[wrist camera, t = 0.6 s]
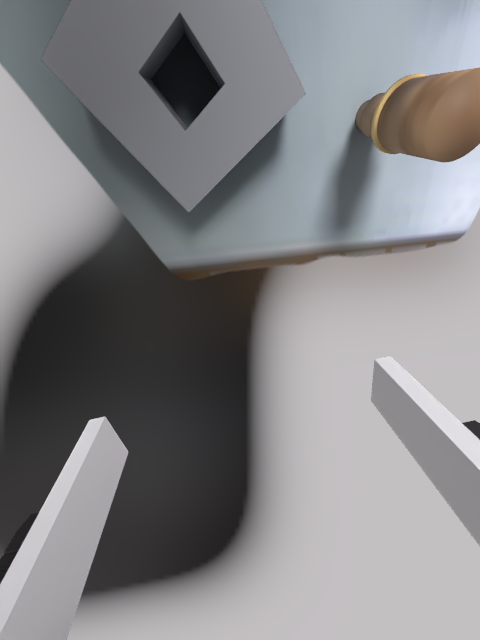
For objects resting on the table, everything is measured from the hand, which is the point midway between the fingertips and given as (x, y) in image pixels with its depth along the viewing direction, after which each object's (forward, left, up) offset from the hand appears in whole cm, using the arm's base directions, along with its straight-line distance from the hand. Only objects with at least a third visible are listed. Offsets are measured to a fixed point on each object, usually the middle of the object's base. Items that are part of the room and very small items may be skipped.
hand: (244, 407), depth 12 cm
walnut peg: (-20, +3, -26) cm, 33 cm away
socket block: (-7, -11, -26) cm, 29 cm away
